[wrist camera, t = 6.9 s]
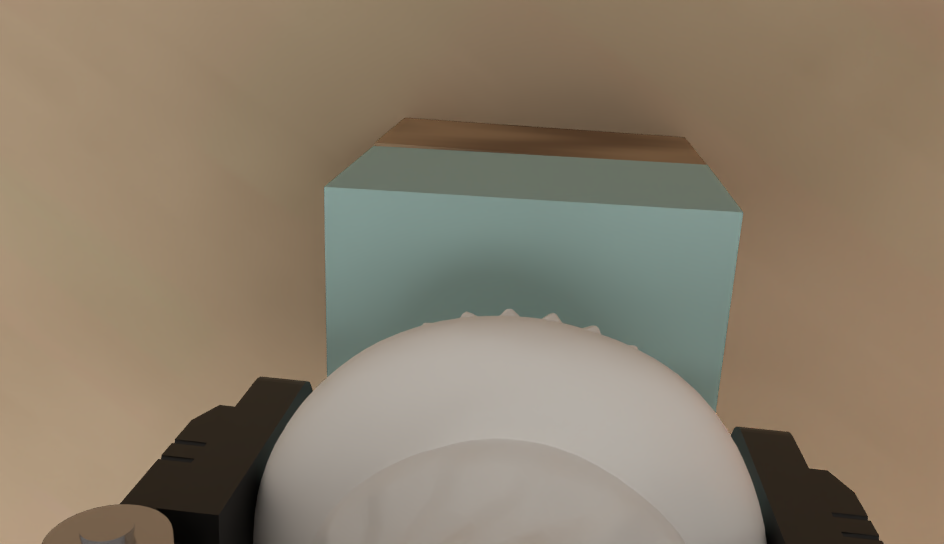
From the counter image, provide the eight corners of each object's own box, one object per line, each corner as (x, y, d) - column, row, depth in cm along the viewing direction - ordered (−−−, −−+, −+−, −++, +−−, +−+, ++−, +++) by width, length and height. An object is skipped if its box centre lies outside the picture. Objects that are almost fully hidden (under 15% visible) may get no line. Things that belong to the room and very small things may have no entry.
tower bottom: (683, 135, 22) (707, 166, 18) (650, 389, 24) (666, 463, 20) (406, 116, 23) (374, 142, 19) (399, 366, 25) (369, 434, 21)
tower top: (707, 164, 18) (742, 212, 14) (670, 462, 20) (693, 572, 17) (373, 145, 19) (324, 186, 15) (373, 437, 21) (329, 536, 17)
